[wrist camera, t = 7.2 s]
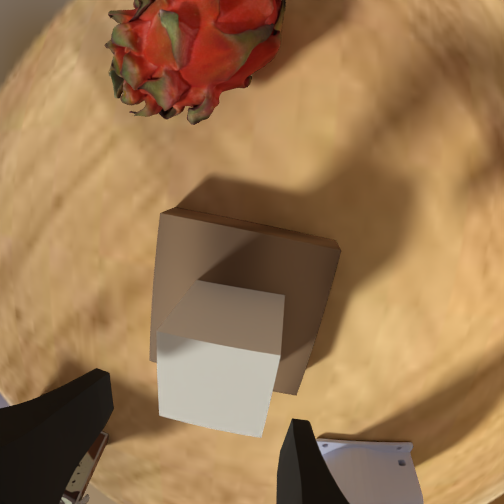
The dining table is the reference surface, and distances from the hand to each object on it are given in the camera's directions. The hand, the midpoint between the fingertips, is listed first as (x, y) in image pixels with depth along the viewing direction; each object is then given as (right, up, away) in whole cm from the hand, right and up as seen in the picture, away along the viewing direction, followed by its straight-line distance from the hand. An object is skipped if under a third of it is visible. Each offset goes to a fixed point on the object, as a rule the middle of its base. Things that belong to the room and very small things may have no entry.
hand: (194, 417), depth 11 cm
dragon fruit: (0, +19, +6) cm, 20 cm away
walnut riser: (+1, +3, +10) cm, 11 cm away
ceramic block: (+1, +2, +8) cm, 8 cm away
